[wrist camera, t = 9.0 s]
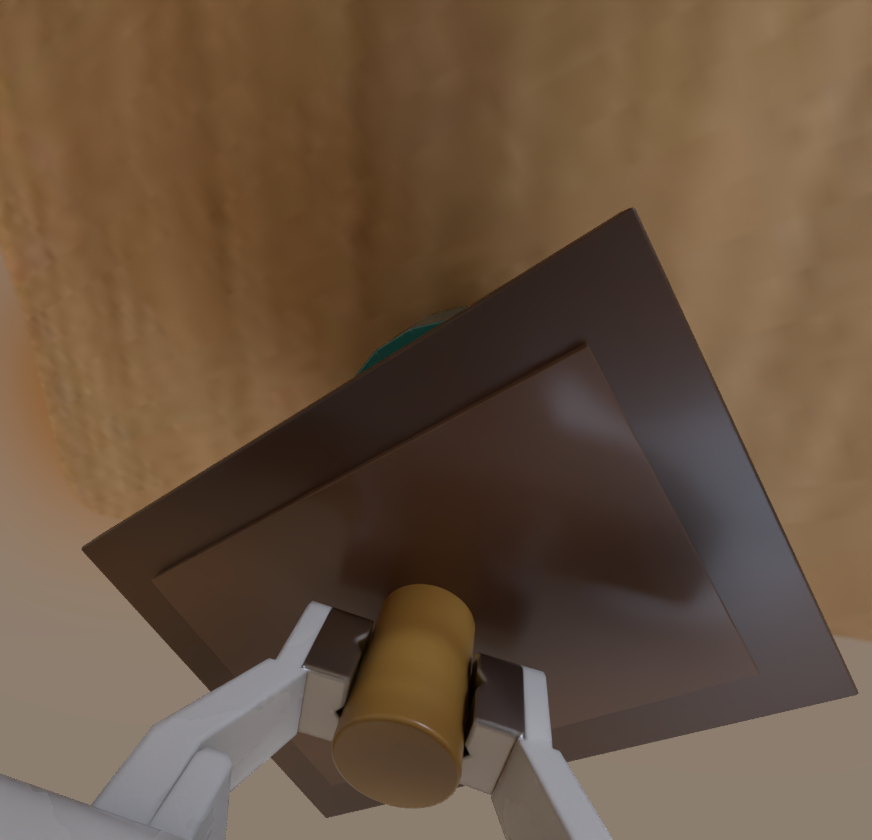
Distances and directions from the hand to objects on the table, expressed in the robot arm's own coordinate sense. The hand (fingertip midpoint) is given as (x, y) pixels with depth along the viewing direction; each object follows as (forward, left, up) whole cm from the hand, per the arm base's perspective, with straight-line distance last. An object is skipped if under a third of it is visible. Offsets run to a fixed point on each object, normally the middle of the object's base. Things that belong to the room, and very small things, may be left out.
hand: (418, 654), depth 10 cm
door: (0, 0, -2) cm, 2 cm away
